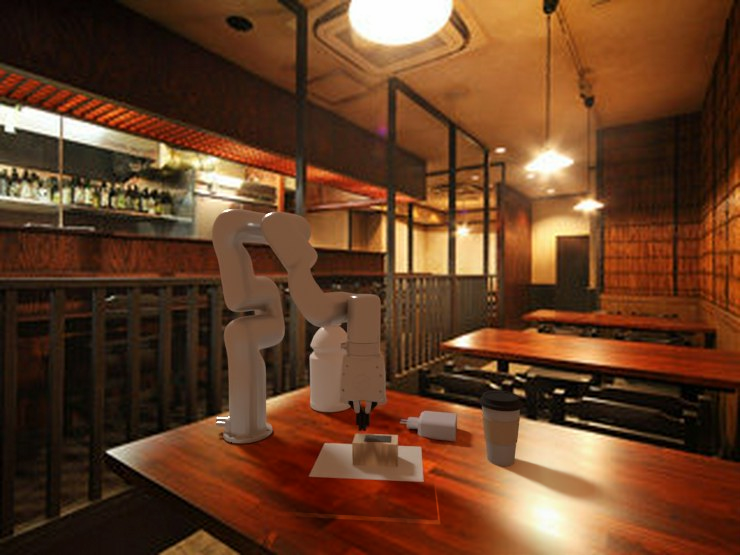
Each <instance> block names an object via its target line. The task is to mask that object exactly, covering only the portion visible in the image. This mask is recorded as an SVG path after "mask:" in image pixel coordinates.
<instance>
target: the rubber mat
mask: <svg viewBox="0 0 740 555" xmlns="http://www.w3.org/2000/svg"><path fill="white" fill-rule="evenodd" d="M422 452H423V451H422V446H414V445H413V446H412V445H411V446H410V445H398V467H383V466H359V465H352V443H337V442H336V443H333V442H329V443H328V442H325V443H324V444H323V446H322V448H321V450H320V452H319V454H318V456H317V458H316V460H315V462H314V463H313V464H314V465H313V467H312V469H311V471H310V473H309V475H308V477H310V478H311V477H312V478H331V479H332V478H333V479H334V478H335V479H350V480H352V479H354V480H374V481H375V480H376V481H395V482H413V483H414V482H415V483H418V482H419V483H424V481H425V480H424V468H423V453H422Z"/></svg>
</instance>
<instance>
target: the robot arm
mask: <svg viewBox="0 0 740 555" xmlns="http://www.w3.org/2000/svg"><path fill="white" fill-rule="evenodd" d="M308 221H309V220H307V219H306V218H305V217H303V216H302V215H300V214H294V213H290V212H284V211H272V212H269V213H264V212H259V211H253V210H248V209H242V208H231V209H225V210H224V211H222V212H220V213H219V214H218V216H216V218H215V220H214V222H213V225H212V228H211V229H212V230H211V238H212V239H211V240H212V245H213V249H214V252H215V255H216V258H217V261H218V266H219V274H220V279H221V287H222V294H223V298H224V302H225V305H226V307H227V308H228V310H230V311H232V312H235V313H240V312H241V313H242V312H250V311H254V314H253V315H246V316H241V317H240V316H239V317H238V318H235V319H233V320H231V321H230V322H229V323H228V324H227V325H226V327H225V329H224V332H223V341H224V345H225V349H226V356H227V366H228V367H227V368H228V369H227V370H228V407H229V408H228V417H227V416H217V417H216V419H215V424H216V425H215V426H216V427H217V428H224V430H223V440H225V441H226V442H228V443H231V442H232V444H249V443H250V444H251V443H256V442H259V441H262V440H264V439H266V438H268V437H269V436H270V435H271V434H272V433H273V426H272V424H271V423H269V422H267V371H266V370H267V369H266V363H265V360H264V358H263V356H262V355H261V354H262V353H261V352H260V350H263V349H267V348H271V347H274V346H276V345H278V344H280V343H281V342H282V341H283V339H284V336H285V333H286V332H285V330H286V329H285V328H286V326H285V318H284V313H283V307H282V302H281V296H280V291H279V288H278V286H277V284H276V283H275V282H274V280H272V279H271V278H270V277H268V276H263V275H260V276H259V275H258V276H257V275H255V272H254V266H253V261H252V258H251V256H250V253H249V252H248V250H247V249H246V248H245V246H244V244H243V243H254V244H264V245H266V244H267V245H268V246H269V247H270V248H271V250H272V252H274V254H275V255H276V257H277V259H279V261H280V263H281V264H282V266H283V267H284V268H285V270H286V271H287V286H288V287H287V288H288V291H289V296H290V297H291V300H292V302H293V303H294V305H295V306H296V307H297V309H298V310H299V312H300V313H301V315H302V316H303V317H304V319H305V320H307V322H309V323H310V324H311V325H313V326H315V327H318V328H321V327H326V326H330V325H335V324H340V323H341V324H344V323H347V324H346V325H347V326H346V330H347V331H346V333H347V341H346V342H344V343H341V349H346V353H345V354H344V355H343V360H342V367H341V378H340V402H342V403H345V404H349V405H350V406H351V407H350V408H351V409H353V411H354V413H355V425H356V426H358V431H360V432H361V431H363V432H366V431H367V428H368V427H370V425H371V424H370V423H371V415H370V414H371V412H372V410H374V409H376V407H377V406H383V405H386V404H387V395H386V388H387V385H386V383H387V381H386V365H385V360H384V359H385V358H384V355H383V354H382V353H381V316H382V315H381V308H382V305H381V299H380V297H379V296H378V295H376V294H373V293H351V292H346V291H332V292H331V291H330V292H324V291H323V289H321V286H319V284H318V283H317V282H316V280H315V279H314V277H313V275H312V272H311V269H312V267H313V266H315V264H316V263H317V260H318V253H317V251H316V249H315V248H314V247H313V245H312V244H311V243H310V239H311V237H312V228H311V225H310V222H308ZM361 402H365V407H364V408H363V407H362V403H361Z"/></svg>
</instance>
